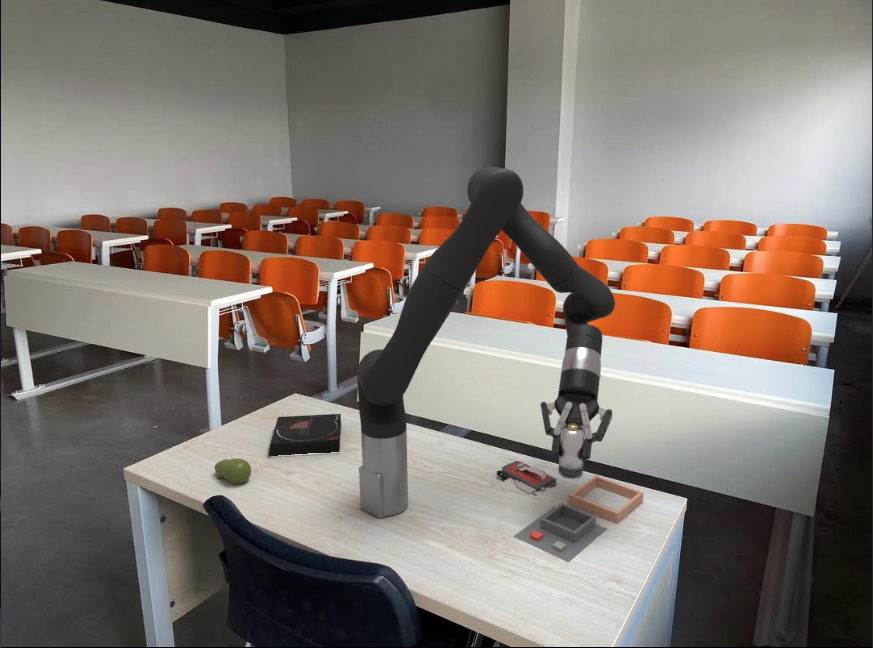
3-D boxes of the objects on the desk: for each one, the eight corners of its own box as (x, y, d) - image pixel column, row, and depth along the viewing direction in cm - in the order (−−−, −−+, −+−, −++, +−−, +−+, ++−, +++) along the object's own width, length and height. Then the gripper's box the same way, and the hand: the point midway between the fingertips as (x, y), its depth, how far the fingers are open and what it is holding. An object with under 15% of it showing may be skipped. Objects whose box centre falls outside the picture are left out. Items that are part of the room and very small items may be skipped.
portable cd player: (276, 430, 177) (275, 417, 176) (341, 427, 178) (340, 413, 177) (268, 459, 161) (267, 443, 160) (339, 454, 163) (338, 440, 162)
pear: (233, 466, 144) (206, 461, 150) (238, 489, 145) (211, 483, 151) (253, 456, 149) (226, 452, 155) (258, 478, 150) (231, 473, 156)
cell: (574, 481, 122) (577, 432, 119) (553, 473, 125) (555, 425, 122) (587, 472, 125) (590, 424, 122) (566, 465, 128) (568, 418, 125)
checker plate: (568, 569, 118) (569, 552, 117) (513, 543, 125) (513, 526, 125) (606, 535, 128) (607, 519, 127) (553, 513, 135) (554, 498, 134)
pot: (616, 530, 129) (617, 514, 128) (567, 510, 137) (568, 494, 136) (642, 507, 137) (643, 492, 136) (594, 489, 144) (595, 475, 143)
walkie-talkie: (489, 481, 149) (557, 518, 134) (489, 463, 148) (558, 499, 133) (516, 469, 155) (585, 503, 140) (517, 451, 153) (586, 485, 138)
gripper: (542, 363, 129) (529, 447, 121) (618, 370, 125) (610, 457, 117) (545, 380, 135) (533, 460, 127) (617, 387, 131) (610, 470, 123)
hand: (570, 458), depth 122 cm, fingers closed on cell, 4 cm apart
